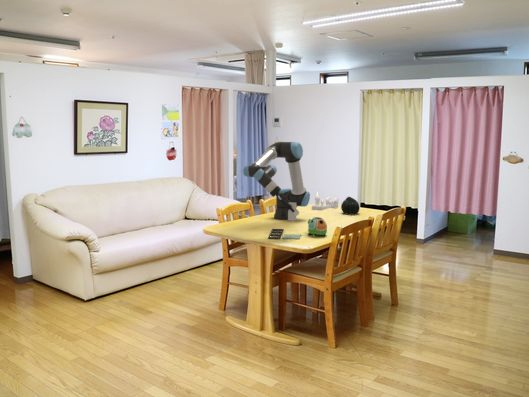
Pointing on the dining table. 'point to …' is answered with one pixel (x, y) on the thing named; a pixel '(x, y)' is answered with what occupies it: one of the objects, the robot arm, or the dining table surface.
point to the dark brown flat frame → (276, 233)
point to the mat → (291, 236)
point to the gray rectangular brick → (290, 214)
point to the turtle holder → (317, 226)
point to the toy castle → (328, 203)
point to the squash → (350, 206)
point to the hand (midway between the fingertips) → (297, 214)
